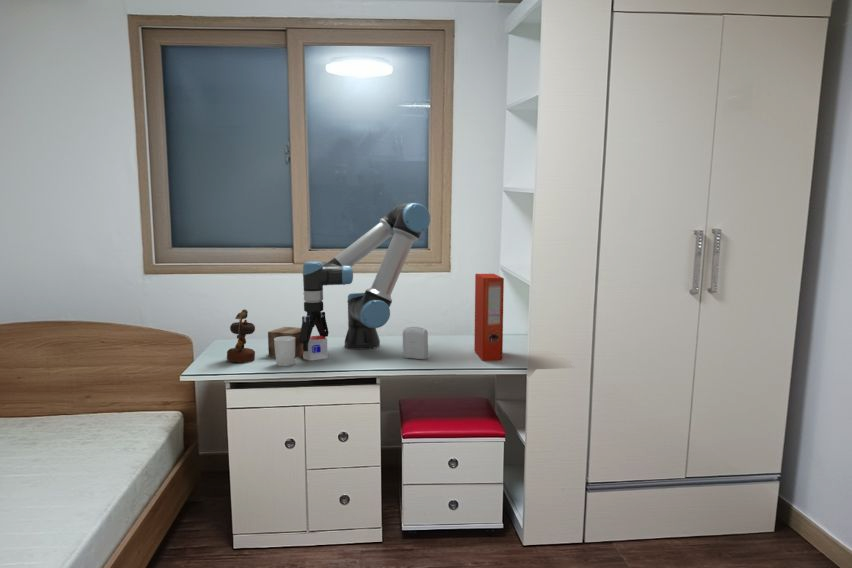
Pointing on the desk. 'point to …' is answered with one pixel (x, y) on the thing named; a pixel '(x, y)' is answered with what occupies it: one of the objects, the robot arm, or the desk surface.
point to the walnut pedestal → (285, 332)
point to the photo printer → (415, 343)
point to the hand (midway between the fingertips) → (314, 355)
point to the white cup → (285, 350)
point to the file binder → (489, 316)
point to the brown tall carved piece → (241, 340)
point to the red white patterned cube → (318, 347)
